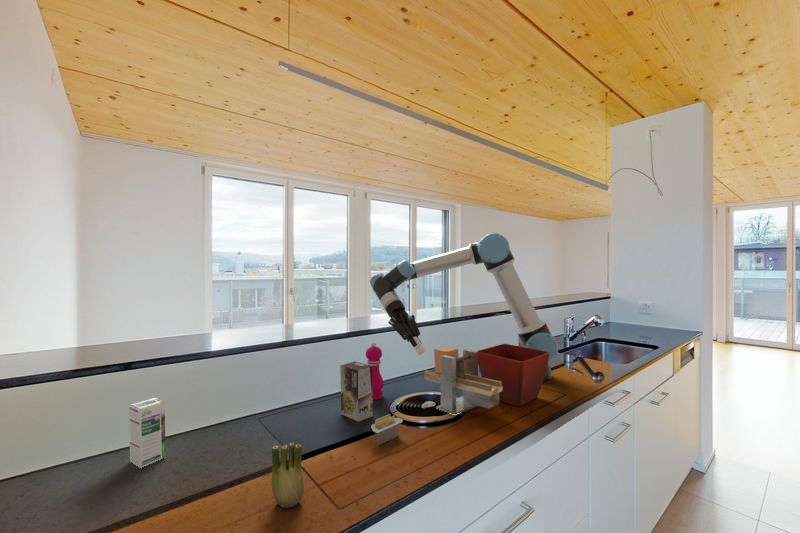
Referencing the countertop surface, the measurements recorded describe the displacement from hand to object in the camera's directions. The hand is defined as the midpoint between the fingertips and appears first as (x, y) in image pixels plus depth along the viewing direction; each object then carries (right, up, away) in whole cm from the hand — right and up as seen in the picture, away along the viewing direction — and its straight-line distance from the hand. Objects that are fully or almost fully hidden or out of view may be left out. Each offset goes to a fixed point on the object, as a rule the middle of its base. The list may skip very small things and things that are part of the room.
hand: (422, 352), depth 136 cm
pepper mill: (-18, -15, -4) cm, 24 cm away
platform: (-12, -16, -36) cm, 42 cm away
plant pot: (+33, -15, -6) cm, 36 cm away
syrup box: (-71, -16, -46) cm, 86 cm away
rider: (+8, -6, -9) cm, 14 cm away
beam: (+12, -12, -14) cm, 22 cm away
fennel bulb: (-31, -16, -63) cm, 72 cm away
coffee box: (-22, -16, -20) cm, 34 cm away
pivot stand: (+12, -15, -13) cm, 23 cm away
